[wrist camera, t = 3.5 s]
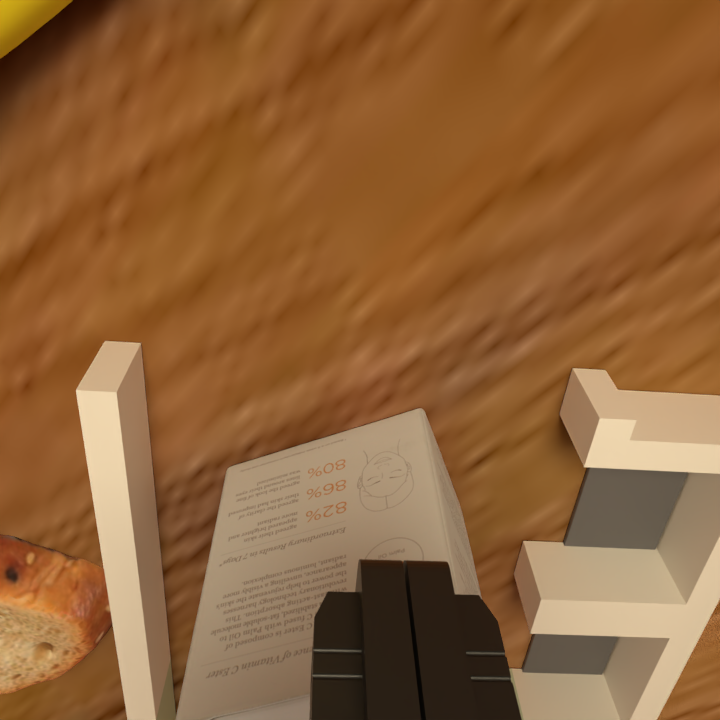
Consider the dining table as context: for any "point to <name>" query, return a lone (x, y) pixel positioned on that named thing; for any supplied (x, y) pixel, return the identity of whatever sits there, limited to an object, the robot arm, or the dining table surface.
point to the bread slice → (47, 612)
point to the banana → (24, 19)
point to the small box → (311, 557)
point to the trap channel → (535, 562)
